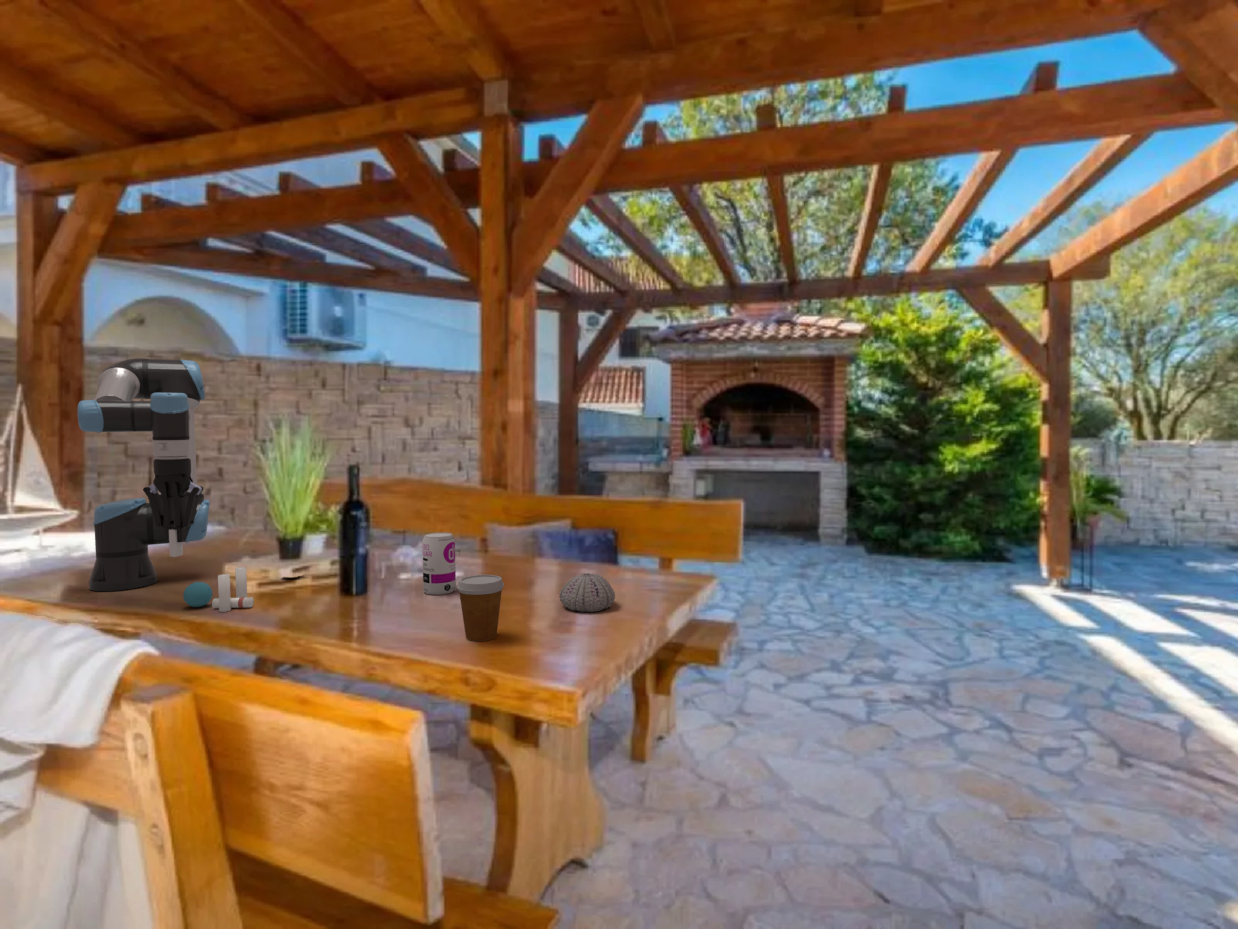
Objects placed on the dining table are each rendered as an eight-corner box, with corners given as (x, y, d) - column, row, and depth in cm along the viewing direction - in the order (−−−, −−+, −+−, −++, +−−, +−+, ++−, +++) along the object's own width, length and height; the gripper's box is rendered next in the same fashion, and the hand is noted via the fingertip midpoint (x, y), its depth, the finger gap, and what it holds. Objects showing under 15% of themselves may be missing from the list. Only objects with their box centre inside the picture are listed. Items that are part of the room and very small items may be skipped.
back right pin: (218, 610, 164) (217, 574, 163) (230, 608, 165) (229, 573, 164) (219, 612, 162) (218, 576, 161) (231, 611, 163) (229, 575, 162)
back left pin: (236, 601, 172) (234, 567, 171) (247, 600, 173) (245, 566, 172) (236, 603, 170) (235, 569, 169) (247, 602, 171) (246, 568, 170)
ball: (207, 573, 168) (221, 593, 168) (197, 584, 171) (211, 604, 171) (183, 584, 163) (198, 604, 163) (173, 595, 166) (188, 615, 165)
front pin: (210, 602, 164) (248, 601, 164) (215, 595, 166) (252, 594, 166) (213, 610, 165) (250, 609, 165) (218, 604, 167) (254, 603, 168)
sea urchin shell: (622, 602, 170) (621, 569, 170) (606, 617, 157) (606, 582, 157) (571, 598, 174) (570, 566, 174) (551, 612, 161) (551, 578, 161)
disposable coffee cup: (461, 630, 147) (460, 574, 146) (506, 629, 148) (505, 573, 147) (454, 644, 138) (453, 585, 137) (502, 643, 139) (501, 584, 138)
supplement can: (461, 589, 183) (460, 533, 182) (444, 596, 176) (443, 538, 175) (435, 586, 186) (434, 531, 185) (416, 594, 178) (415, 536, 177)
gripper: (133, 458, 160) (138, 559, 162) (191, 459, 161) (195, 559, 163) (153, 456, 168) (158, 552, 170) (208, 456, 168) (212, 552, 170)
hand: (176, 555), depth 166 cm, fingers closed
